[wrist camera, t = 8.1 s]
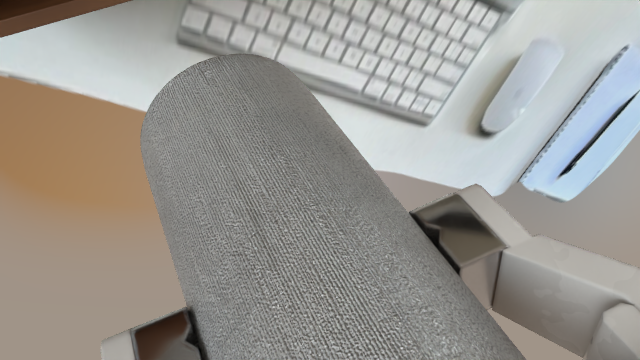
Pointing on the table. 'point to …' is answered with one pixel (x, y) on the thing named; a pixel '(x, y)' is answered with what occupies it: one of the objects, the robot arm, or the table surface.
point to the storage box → (44, 12)
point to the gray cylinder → (295, 230)
